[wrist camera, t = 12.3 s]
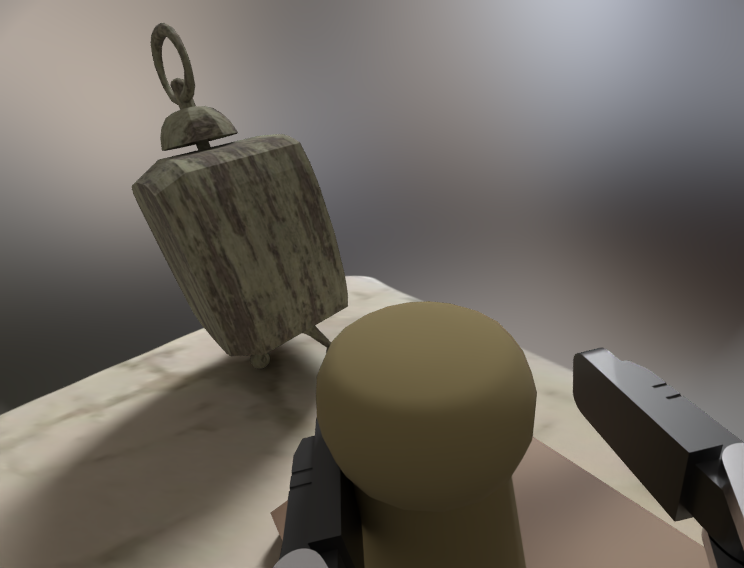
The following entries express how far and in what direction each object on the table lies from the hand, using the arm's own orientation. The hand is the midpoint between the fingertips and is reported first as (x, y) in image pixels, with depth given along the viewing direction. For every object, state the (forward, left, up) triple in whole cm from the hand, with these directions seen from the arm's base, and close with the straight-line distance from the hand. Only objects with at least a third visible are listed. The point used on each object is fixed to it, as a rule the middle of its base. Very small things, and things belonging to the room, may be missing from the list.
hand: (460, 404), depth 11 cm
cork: (-2, +1, -7) cm, 8 cm away
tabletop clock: (+12, +19, -9) cm, 24 cm away
